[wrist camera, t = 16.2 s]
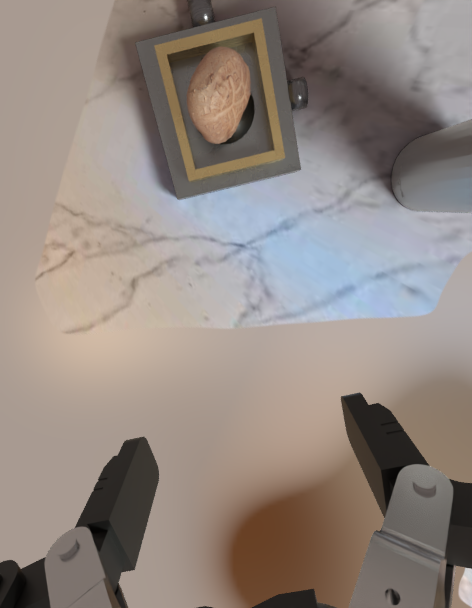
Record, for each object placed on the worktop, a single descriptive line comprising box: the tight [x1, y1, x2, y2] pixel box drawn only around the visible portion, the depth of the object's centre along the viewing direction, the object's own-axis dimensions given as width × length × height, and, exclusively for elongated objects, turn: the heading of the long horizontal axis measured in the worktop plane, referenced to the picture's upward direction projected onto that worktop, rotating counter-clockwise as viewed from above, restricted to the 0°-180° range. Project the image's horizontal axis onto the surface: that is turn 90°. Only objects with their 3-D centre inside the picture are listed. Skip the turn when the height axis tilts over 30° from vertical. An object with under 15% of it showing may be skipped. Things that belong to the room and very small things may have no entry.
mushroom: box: [187, 46, 251, 144], centre depth 32 cm, size 8×6×8 cm
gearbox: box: [135, 0, 308, 200], centre depth 36 cm, size 17×19×5 cm
